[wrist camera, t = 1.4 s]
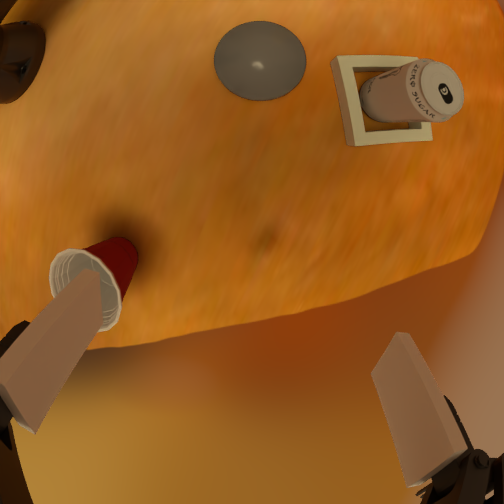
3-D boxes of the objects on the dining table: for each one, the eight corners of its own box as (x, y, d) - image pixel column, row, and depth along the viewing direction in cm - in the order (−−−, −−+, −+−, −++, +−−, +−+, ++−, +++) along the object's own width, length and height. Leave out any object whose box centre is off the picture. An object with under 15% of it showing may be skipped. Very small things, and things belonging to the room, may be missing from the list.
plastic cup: (144, 212, 37) (102, 246, 26) (161, 283, 41) (133, 333, 30) (83, 223, 38) (35, 255, 27) (102, 287, 42) (66, 330, 31)
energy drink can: (383, 71, 29) (447, 47, 15) (406, 111, 31) (477, 108, 17) (348, 90, 30) (401, 67, 16) (372, 130, 32) (436, 133, 18)
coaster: (207, 32, 28) (206, 31, 27) (294, 17, 27) (294, 16, 26) (224, 109, 32) (223, 108, 31) (313, 93, 31) (314, 93, 30)
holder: (330, 62, 29) (337, 55, 26) (405, 62, 28) (417, 57, 25) (346, 145, 33) (355, 146, 30) (419, 138, 32) (432, 140, 29)
